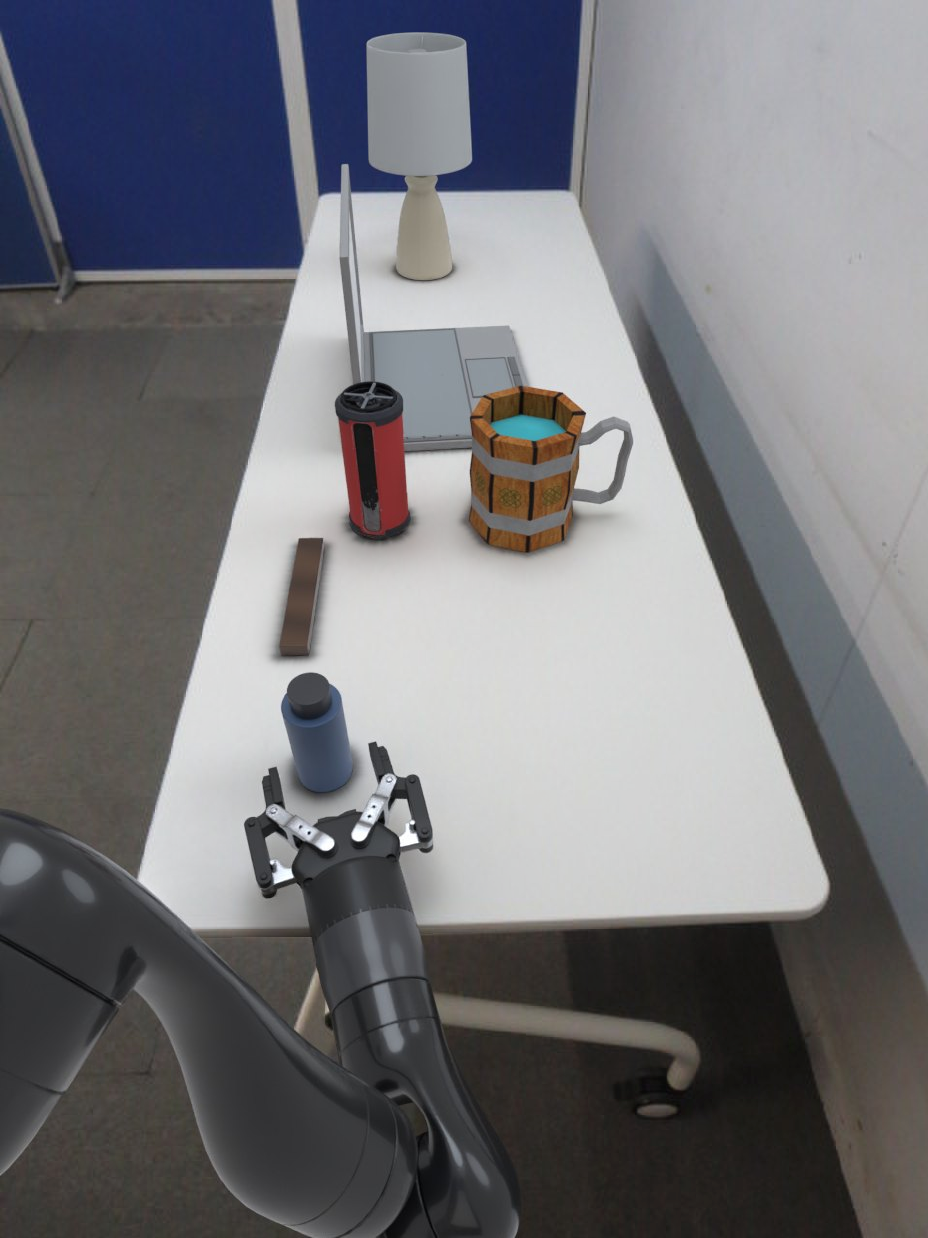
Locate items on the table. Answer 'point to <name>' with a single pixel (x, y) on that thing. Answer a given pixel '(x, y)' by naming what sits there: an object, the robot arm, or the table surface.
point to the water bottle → (317, 732)
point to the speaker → (374, 458)
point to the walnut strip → (302, 597)
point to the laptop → (425, 359)
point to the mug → (532, 466)
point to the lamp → (419, 136)
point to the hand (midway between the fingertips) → (323, 760)
